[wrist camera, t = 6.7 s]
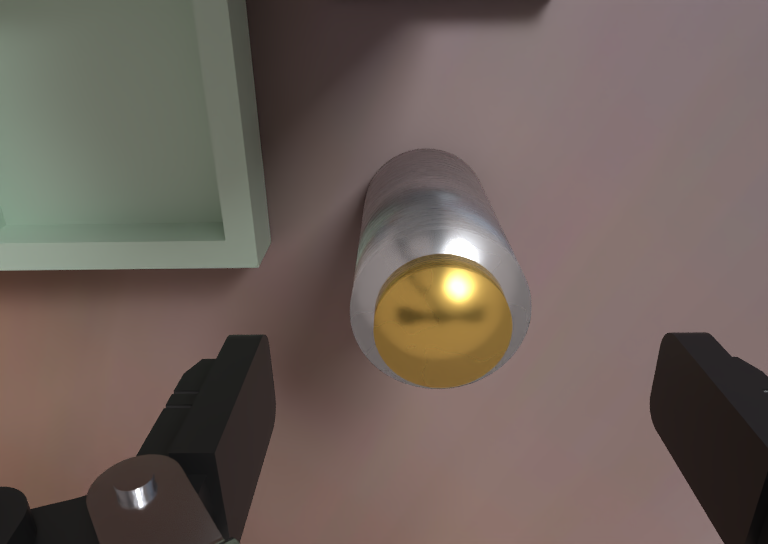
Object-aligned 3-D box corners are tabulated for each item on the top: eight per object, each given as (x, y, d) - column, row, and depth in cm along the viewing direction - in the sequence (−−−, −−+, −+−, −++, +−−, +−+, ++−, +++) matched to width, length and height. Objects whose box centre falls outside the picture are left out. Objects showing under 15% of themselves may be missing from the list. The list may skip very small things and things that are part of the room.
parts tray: (-5, 245, 23) (-45, 271, 20) (-105, -73, 18) (-170, -82, 16) (271, 242, 22) (258, 267, 20) (237, -81, 18) (216, -91, 16)
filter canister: (366, 264, 23) (351, 408, 15) (362, 149, 21) (342, 243, 13) (482, 263, 23) (530, 407, 15) (488, 147, 21) (547, 241, 13)
